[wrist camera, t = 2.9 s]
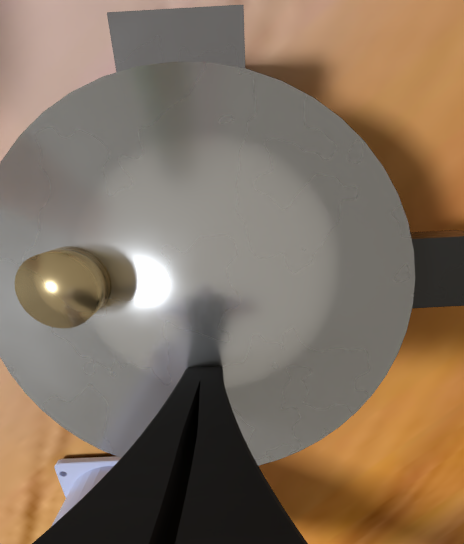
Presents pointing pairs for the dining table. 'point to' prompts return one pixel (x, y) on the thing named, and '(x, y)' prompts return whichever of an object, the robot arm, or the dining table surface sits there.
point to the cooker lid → (199, 256)
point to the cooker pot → (231, 51)
